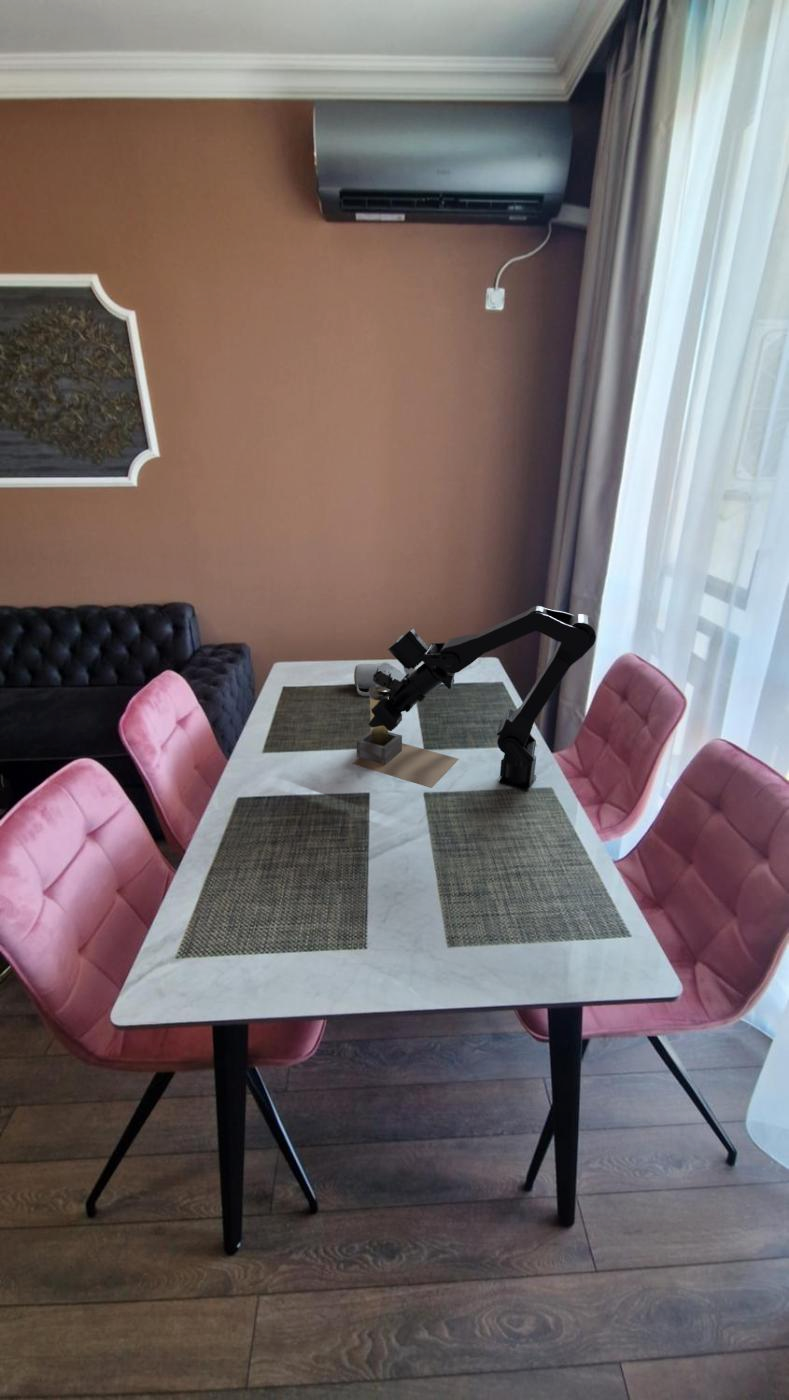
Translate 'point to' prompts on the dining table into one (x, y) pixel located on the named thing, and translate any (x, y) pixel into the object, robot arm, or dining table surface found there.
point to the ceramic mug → (365, 677)
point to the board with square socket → (403, 760)
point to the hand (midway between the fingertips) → (373, 721)
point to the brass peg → (377, 733)
